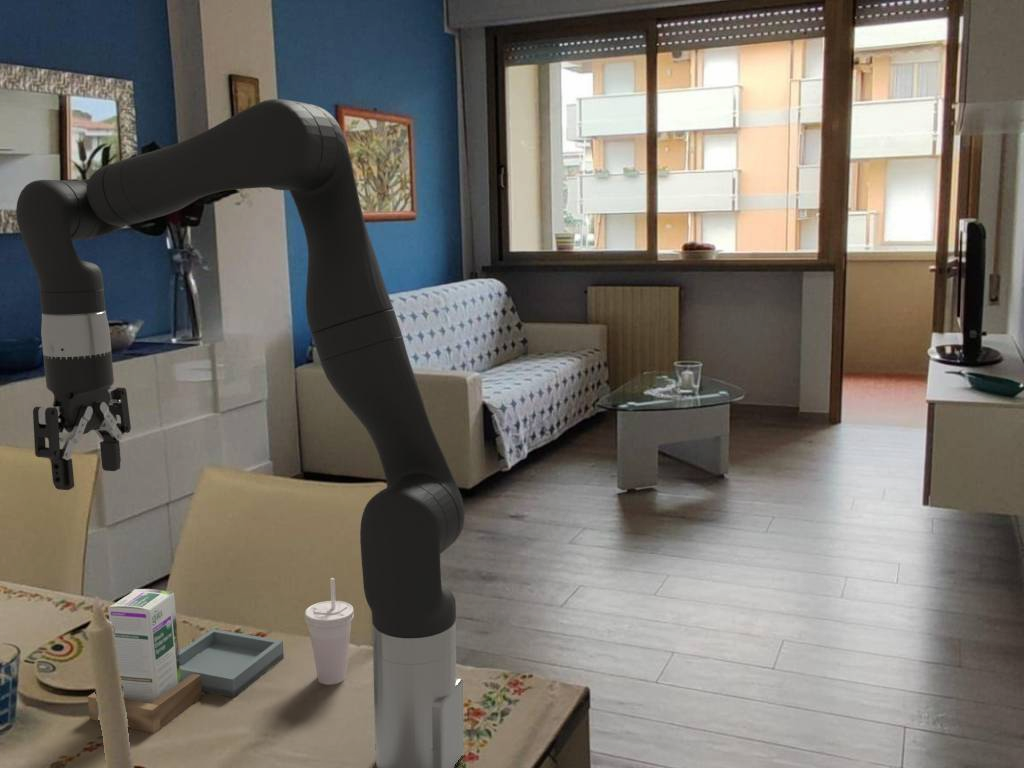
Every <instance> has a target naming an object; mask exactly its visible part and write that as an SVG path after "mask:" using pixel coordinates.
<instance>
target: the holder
mask: <svg viewBox="0 0 1024 768" xmlns="http://www.w3.org/2000/svg"><path fill="white" fill-rule="evenodd" d="M95 692H96V691H94V692H92V693H91V694H89V695H88V696H87V701H88V702H87V704H88V716H89V720H93V721H96V722H97V721H98V710H97V702H96V694H95ZM202 692H203V691H202V688H201V675H198V674H191V675H190V676H189V677H187V678H186V679H184V680H183V681H182V682H180V683H179V684H177V685H176V686H175V687H173V688H172V689H171V690H169V691H168V692H166V693H165V694H164V695H162V696H161V697H159V698H158V699H157V700H155V701H154V702H152V703H151V704H150V703H145V702H140V701H135V700H131V699H126V698H124V699H125V706H126V712H127V719H128V725H129V728H128V729H133V730H137V731H141V732H146V733H150V734H156V732H158V731H159V730H160V729H161V728H163V727H164V726H165V725H167V724H168V723H170V721H173V719H174V718H176V717H177V716H178V715H180V714H181V713H182V712H183V711H185V710H186V709H189V707H190V706H191V705H193V704H194V703H196V702H197V701H198V700H200V699H201V698H202V697H203V693H202ZM98 722H99V721H98Z"/></svg>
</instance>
